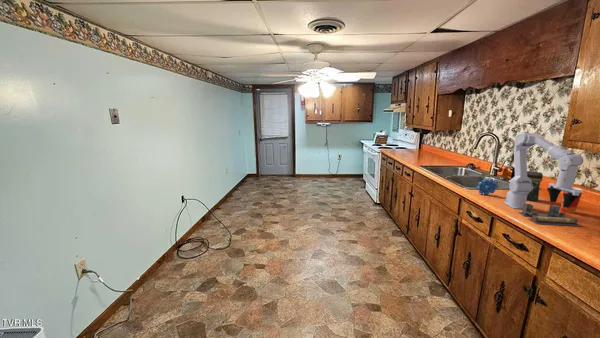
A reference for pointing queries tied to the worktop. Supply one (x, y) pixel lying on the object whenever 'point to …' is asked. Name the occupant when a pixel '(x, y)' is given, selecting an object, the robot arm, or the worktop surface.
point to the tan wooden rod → (555, 219)
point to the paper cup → (574, 204)
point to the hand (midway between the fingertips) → (559, 204)
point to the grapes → (487, 186)
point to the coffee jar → (534, 185)
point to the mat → (554, 223)
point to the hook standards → (552, 213)
